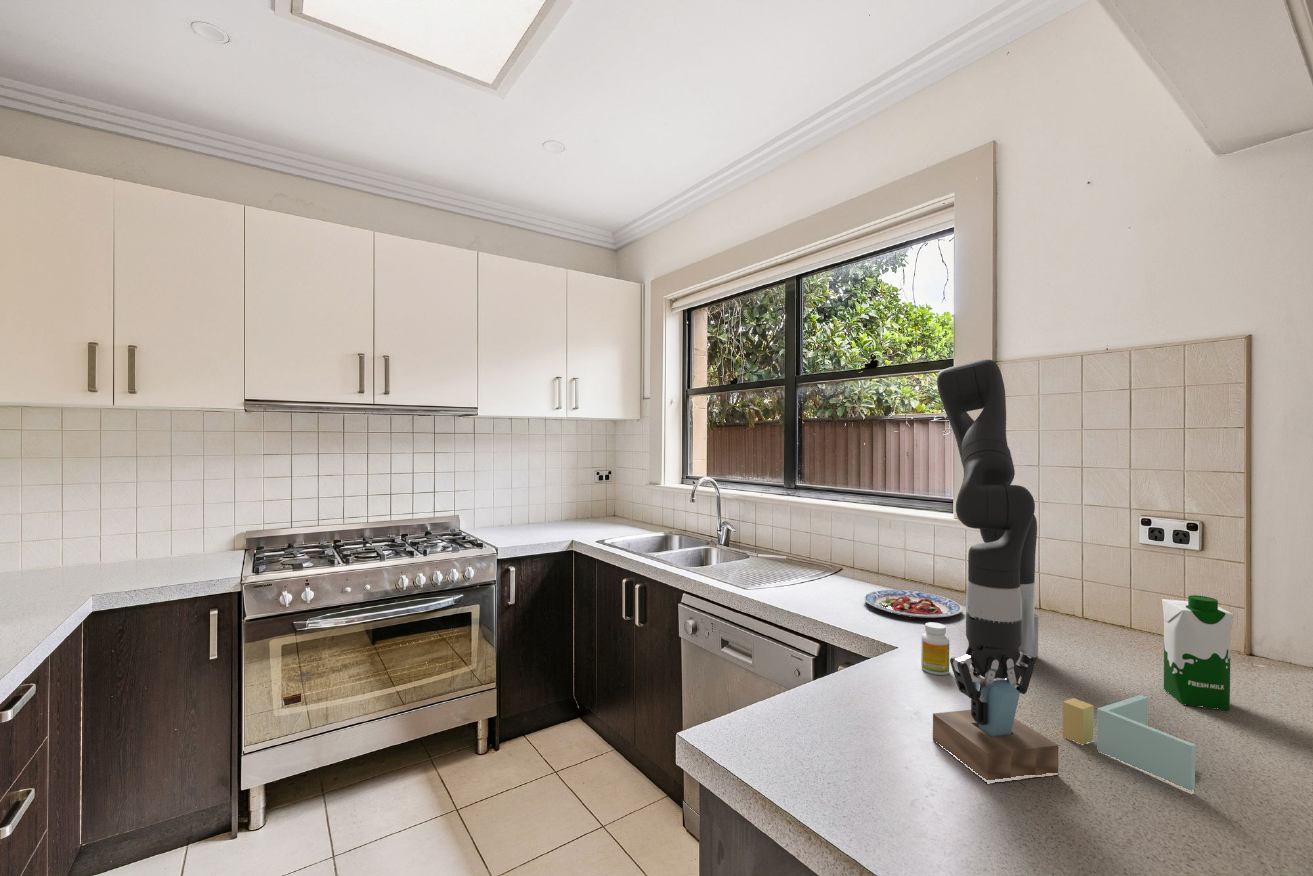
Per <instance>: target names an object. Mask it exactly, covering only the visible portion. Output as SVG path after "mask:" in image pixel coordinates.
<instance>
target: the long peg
mask: <svg viewBox="0 0 1313 876" xmlns="http://www.w3.org/2000/svg"><path fill="white" fill-rule="evenodd" d="M1020 694H1021V693H1020V692H1019V691H1018V690H1017V689H1016V688H1014V687H1013V686H1012V685H1011V684H1009V683H1008V682H1007V681H1006V680H996V679H994V681H993V686H992V688H989V691H988V695H987V699H986V702H988V711H987V725H981V724H979V727H978V728H979V729H980V730H982V731H983V732H985V733H986V734H987V735H989V736H990V737H993V736H1003V735H1011V731H1012V726H1013V722H1014V718H1015V717H1016V712H1017V707H1018V705H1019V704H1018V702H1019V699H1020Z"/></svg>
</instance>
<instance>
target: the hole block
mask: <svg viewBox="0 0 1313 876" xmlns="http://www.w3.org/2000/svg"><path fill="white" fill-rule="evenodd" d="M978 727H979V723H978V722H976V721H975V720H974V718H973V717H972V715H971V709H967V710H965V709H964V710H955V711H945V712H944V711H943V712H937V713H936V712H935V713H934V712H933V713H932V741H933V740H934V741H935V742H937V743H938V744H940V745H941V746H943V748H945V749H946V750H948V751H949V752H951V753H952V754H953V755H955V756H956V757H957V758H958V759H960V761H962V762H963V763H964V764H966V765H967V766H968V767H970V768H971V769H973V771H975V772H976V773H978V775H980V776H982V777H983V778H985V779H986V780H995V779H1003V778H1011V777H1016V776H1024V775H1042V774H1046V773H1058V774H1059V747H1060V745H1059V744H1057V743H1055V742H1054V741H1053V740H1051V739H1049V738H1048V737H1046V736H1044V735H1043V734H1041V733H1039V732H1037V731H1036V730H1035V729H1033V728H1031V727H1030V726H1028V725H1027V724H1024V722H1022V721H1020V720H1018V719H1017V718H1015V717H1014V722H1013V726H1012V731H1011V735H1003V736H993V737H990V736H989V735H987V734H986V733H985V732H983V731H982V730H980V729H979V728H978ZM934 741H933V742H934ZM935 742H934V743H935ZM938 744H937V745H938ZM943 748H942V749H943Z"/></svg>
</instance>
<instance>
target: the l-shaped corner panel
mask: <svg viewBox="0 0 1313 876" xmlns="http://www.w3.org/2000/svg"><path fill="white" fill-rule="evenodd" d="M1148 698H1149V697H1148V696H1144V695H1142V694H1138V695H1136V696H1132V697H1129V698H1125V699H1123V700H1119V701H1117V702H1114V703H1110V704H1108V705H1104V706H1101V707H1098V708H1097V709H1096V712H1097V713H1096V716H1097V717H1096V719H1097V720H1096V751H1097V750H1098V751H1099V752H1102V753H1104V754H1107V755H1110V756H1111V757H1115V758H1116V759H1119V760H1120V761H1123V762H1125V763H1128V764H1130V765H1132V766H1134V767H1137V768H1139V769H1142V770H1144V771H1147V772H1149V773H1152V774H1153V775H1156V776H1159V777H1161V778H1164V779H1165V780H1168V781H1169V782H1172V783H1174V784H1176V785H1179V786H1182V787H1183V788H1186V789H1188V790H1191V791H1192V790H1195V791H1196V777H1195V775H1196V744H1194V743H1192V742H1189V741H1188V740H1184V739H1182V738H1179V737H1177V736H1175V735H1171V734H1170V733H1166V732H1164V731H1161V730H1158V729H1156V728H1153V727H1152V726H1148V717H1149V716H1148V714H1149V713H1148V711H1149V710H1148V709H1149V708H1148V706H1149V705H1148V704H1149V700H1148Z"/></svg>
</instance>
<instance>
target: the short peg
mask: <svg viewBox="0 0 1313 876" xmlns="http://www.w3.org/2000/svg"><path fill="white" fill-rule="evenodd" d="M1063 736H1064V737H1066V738H1069V739H1071V740H1074V741H1075V742H1078V743H1080V744H1086V743H1087V742H1091V741H1092V740H1093V741H1094V705H1093V704H1091V703H1088V702H1086V701H1082V700H1079V699H1077V698H1075V697H1072V698H1070V699H1067V700H1064V701H1062V737H1063Z"/></svg>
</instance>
